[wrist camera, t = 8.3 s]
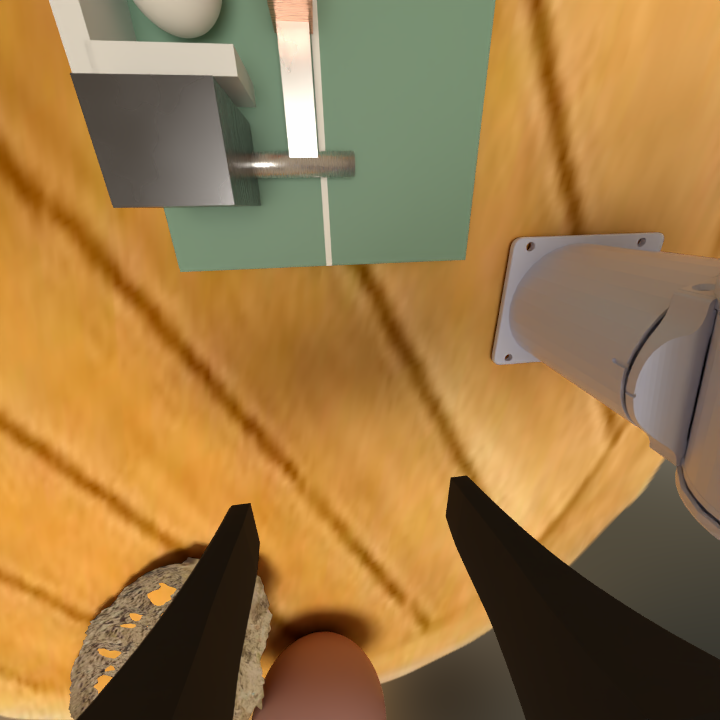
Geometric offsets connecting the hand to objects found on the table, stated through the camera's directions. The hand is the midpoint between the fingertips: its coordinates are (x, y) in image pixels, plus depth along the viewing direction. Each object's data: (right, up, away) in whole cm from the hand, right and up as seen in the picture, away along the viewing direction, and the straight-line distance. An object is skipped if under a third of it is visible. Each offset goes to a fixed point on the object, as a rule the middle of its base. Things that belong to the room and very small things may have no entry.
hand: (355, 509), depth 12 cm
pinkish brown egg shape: (-4, -24, +23) cm, 34 cm away
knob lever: (-5, +16, +2) cm, 17 cm away
